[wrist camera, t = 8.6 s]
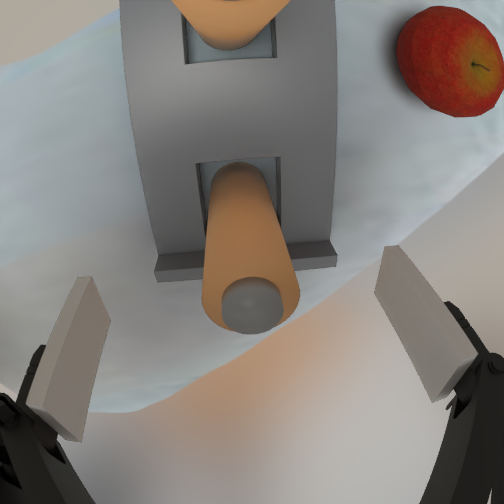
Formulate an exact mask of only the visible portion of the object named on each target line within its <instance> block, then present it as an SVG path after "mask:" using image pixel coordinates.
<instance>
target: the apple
mask: <svg viewBox="0 0 504 504" xmlns="http://www.w3.org/2000/svg"><path fill="white" fill-rule="evenodd" d="M396 55H397V59H398V64H399V68H400V71H401V73H402V75H403V77H404V80H405V82H406V84H407V86H408V87H409V89H410V90H411V91H412V92H413V93H414V94H415V95H416V96H417V97H418V98H419V99H421V100H422V101H423V102H424V103H425V104H426V105H427V106H428V107H430V108H431V109H434V110H436V111H439V112H442V113H445V114H447V115H450V116H453V117H476V116H479V115H482V114H484V113H485V112H487V111H488V110H490V109H492V108H493V107H494V106H495V104H496V102H497V101H498V99H499V97H500V95H501V93H502V92H503V90H504V61H503V57H502V54H501V51H500V48H499V46H498V43H497V41H496V39H495V37H494V36H493V35H492V34H491V32H490V31H489V30H488V29H487V27H486V26H485V25H484V24H483V23H481V22H480V21H478V20H477V19H476V18H474V17H473V16H471V15H470V14H468V13H467V12H465V11H463V10H461V9H458V8H453V7H445V6H433V7H429V8H427V9H425V10H423V11H421V12H419V13H417V14H416V15H415V16H413V17H412V18H411V19H409V20H408V21H407V22H406V24H405V26H404V27H403V29H402V31H401V33H400V35H399V38H398V44H397V50H396Z"/></svg>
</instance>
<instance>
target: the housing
mask: <svg viewBox="0 0 504 504" xmlns="http://www.w3.org/2000/svg"><path fill="white" fill-rule="evenodd" d="M185 18H186V19H187V20H188V21H189V23H190V24H191V25H192V27H193V28H194V29H195V30H196V32H197V33H198V34H199V36H200V37H201V38H202V39H203V41H204V42H205V43H207V44H208V45H209V46H211V47H213V48H216V49H219V50H236V49H239V48H242V47H244V46H246V45H247V44H249V43H250V42H251V41H252V40H253V39H254V38H255V37H256V35H257V34H258V33H259V32H260V31H261V30H262V29H263V28H264V27H265V26H266V25H267V24H268V23H269V22H270V21H271V36H272V56H273V58H255V59H236V60H222V61H211V62H202V63H194V64H188V52H187V39H186V25H185ZM120 21H121V36H122V48H123V59H124V69H125V78H126V87H127V94H128V102H129V109H130V116H131V123H132V129H133V136H134V142H135V147H136V153H137V159H138V164H139V170H140V175H141V180H142V185H143V190H144V195H145V199H146V204H147V209H148V213H149V218H150V222H151V226H152V231H153V235H154V239H155V243H156V247H157V251H158V255H159V256H158V259H157V263H156V267H155V270H154V273H155V276H156V280H157V283H158V282H171V281H184V280H197V279H203V272H204V259H205V246H206V234H207V223H206V217H205V210H204V202H203V195H202V187H201V179H200V171H199V163H205V162H215V161H225V160H237V159H250V158H265V157H276V174H277V219H278V222H279V225H280V228H281V231H282V234H283V237H284V240H285V243H286V246H287V250H288V253H289V256H290V259H291V262H292V265H293V269H294V271H298V270H308V269H318V268H328V267H336V263H337V253H336V252H335V250H334V248H333V246H332V244H331V242H330V232H331V220H332V208H333V194H334V178H335V159H336V134H337V40H336V17H335V0H120Z"/></svg>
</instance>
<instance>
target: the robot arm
mask: <svg viewBox="0 0 504 504" xmlns="http://www.w3.org/2000/svg"><path fill="white" fill-rule="evenodd" d="M374 294H375V295H376V297H377V299H378V301H379V302H380V304H381V306H382V308H383V309H384V311H385V313H386V315H387V316H388V318H389V320H390V322H391V324H392V326H393V327H394V329H395V331H396V333H397V335H398V336H399V338H400V340H401V342H402V344H403V346H404V348H405V349H406V352H407V353H408V355H409V357H410V359H411V361H412V363H413V365H414V367H415V369H416V371H417V373H418V375H419V377H420V379H421V381H422V383H423V385H424V387H425V389H426V391H427V393H428V396H429V398H430V400H431V402H432V403H433V402H436V401H438V400H441V399H443V398H446V397H447V396H448V395H449V394H450V393H451V391H452V390H453V389H454V391H455V392H456V395H455V397H454V398H453V399H452V400H451V401H450V403H449V404H448V405H447V407H446V410H448V409H449V408H450V407H451V406H452V408H451V412H450V416H449V420H448V424H447V428H446V431H445V435H444V438H443V441H442V444H441V448H440V451H439V454H438V457H437V460H436V463H435V465H434V468H433V471H432V474H431V476H430V479H429V482H428V484H427V487H426V489H425V492H424V494H423V496H422V499H421V501H420V503H419V504H487V502H488V499H489V495H490V492H491V488H492V493H491V494H492V495H491V504H504V358H503V357H502V356H501V355H499V354H497V353H489V351H488V350H487V349H486V347H485V346H484V344H483V343H482V341H481V340H480V338H479V337H478V335H477V334H476V332H475V331H474V329H473V328H472V327H471V326H470V324H469V322H468V321H467V319H465V317H464V315H463V314H462V312H461V311H460V310H459V308H457V307H456V306H455V305H453V304H452V303H451V302H450V301H447V302H443V301H442V300H441V299H440V297H439V296H438V295H437V293H436V292H435V291H434V289H433V288H432V287H431V285H430V284H429V283H428V281H427V280H426V279H425V277H424V276H423V275H422V274H421V272H420V271H419V270H418V269H417V268H416V266H415V265H414V263H413V262H412V261H411V260H410V259H409V257H408V256H407V255H406V254H405V252H404V251H403V250H402V249H401V248H400V246H399V245H396V246H387V247H384V252H383V257H382V261H381V266H380V270H379V275H378V279H377V283H376V287H375V291H374ZM110 322H111V319H110V317H109V315H108V313H107V311H106V309H105V306H104V304H103V302H102V300H101V297H100V295H99V293H98V290H97V288H96V286H95V283H94V281H93V278H92V276H88V277H77V279H76V281H75V283H74V285H73V287H72V289H71V291H70V294H69V296H68V298H67V300H66V302H65V304H64V306H63V308H62V311H61V313H60V315H59V317H58V319H57V322H56V324H55V326H54V328H53V331H52V333H51V336H50V338H49V340H48V343H47V345H40V347H39V348H38V349H37V350H36V352H35V353H34V354H33V357H32V359H31V362H30V364H29V365H30V366H29V367H28V369H27V372H26V373H27V374H26V375H25V377H24V380H23V383H22V385H21V388H20V391H19V394H18V397H17V400H16V403H15V402H14V401H13V400H12V399H11V398H10V397H9V396H8V395H6V394H5V393H0V504H95V502H94V501H93V499H92V498H91V496H90V495H89V493H88V491H87V490H86V488H85V487H84V485H83V484H82V482H81V480H80V479H79V477H78V476H77V474H76V472H75V470H74V469H73V467H72V465H71V463H70V462H69V460H68V458H67V456H66V454H65V452H64V450H63V449H62V447H61V445H60V443H59V442H58V441H57V436H58V434H59V435H60V436H62V437H63V438H64V439H65V440H68V441H75V442H81V443H82V438H83V432H84V427H85V422H86V417H87V412H88V407H89V403H90V398H91V394H92V389H93V385H94V381H95V377H96V373H97V369H98V365H99V361H100V357H101V353H102V350H103V346H104V342H105V339H106V335H107V332H108V328H109V325H110Z"/></svg>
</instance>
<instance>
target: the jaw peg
mask: <svg viewBox="0 0 504 504" xmlns="http://www.w3.org/2000/svg"><path fill="white" fill-rule="evenodd" d="M299 298H300V289H299V285H298V281H297V278H296V275H295V272H294V269H293V265H292V262H291V259H290V256H289V253H288V250H287V246H286V243H285V240H284V237H283V234H282V231H281V228H280V225H279V222H278V219H277V216H276V213H275V210H274V207H273V204H272V201H271V198H270V195H269V192H268V189H267V186H266V183H265V180H264V177H263V175H262V174H261V172H260V171H259V170H258V169H257V168H256V167H254V166H253V165H251V164H248V163H244V162H233V163H229V164H227V165H225V166H223V167H222V168H220V169H219V170H218V171H217V172H216V174H215V175H214V177H213V179H212V183H211V191H210V201H209V212H208V223H207V234H206V246H205V259H204V272H203V287H202V305H203V308H204V310H205V312H206V314H207V315H208V317H209V318H210V319H211V320H212V321H213V322H215V323H216V324H217V325H219V326H221V327H223V328H225V329H228V330H231V331H235V332H238V333H242V334H259V333H263V332H266V331H268V330H270V329H272V328H273V327H275V326H277V325H279V324H281V323H282V322H284V321H285V320H286V319H287V318H289V317H290V315H291V314H292V313H293V312H294V310H295V309H296V307H297V305H298V302H299Z"/></svg>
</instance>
